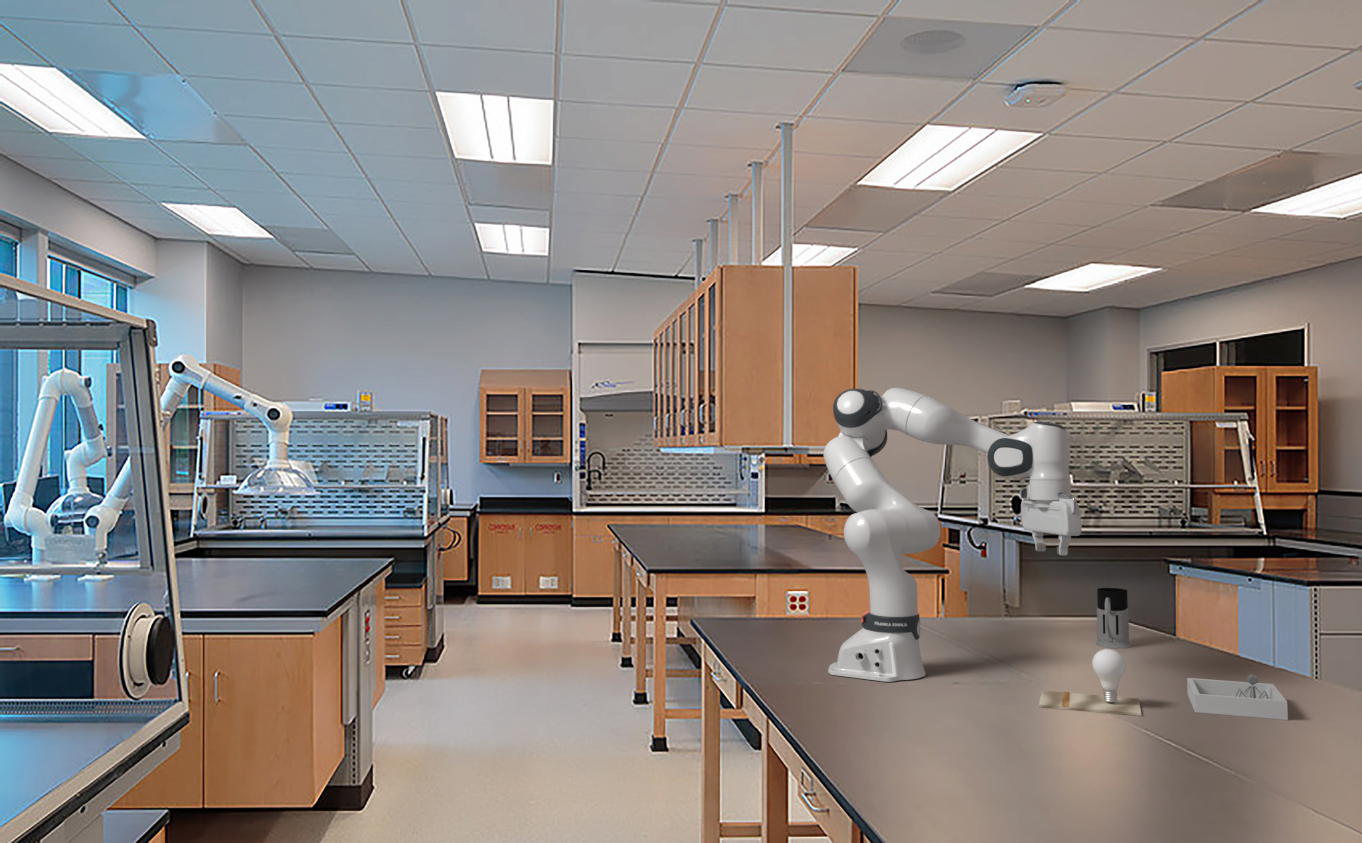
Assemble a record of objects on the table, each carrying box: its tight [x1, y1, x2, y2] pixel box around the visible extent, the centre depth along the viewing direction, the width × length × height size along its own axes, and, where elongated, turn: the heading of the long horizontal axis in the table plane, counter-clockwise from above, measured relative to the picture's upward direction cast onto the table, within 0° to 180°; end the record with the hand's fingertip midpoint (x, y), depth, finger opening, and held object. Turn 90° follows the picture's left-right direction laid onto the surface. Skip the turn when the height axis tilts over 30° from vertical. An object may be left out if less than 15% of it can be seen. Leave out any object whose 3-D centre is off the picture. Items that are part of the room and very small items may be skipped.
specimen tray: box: [1186, 677, 1289, 721], centre depth 201 cm, size 16×16×4 cm
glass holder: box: [1095, 587, 1132, 650], centre depth 264 cm, size 9×14×15 cm, turn 148°
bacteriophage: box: [1236, 673, 1269, 699], centre depth 202 cm, size 7×8×7 cm
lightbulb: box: [1091, 648, 1127, 703], centre depth 203 cm, size 6×6×11 cm
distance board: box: [1038, 690, 1142, 717], centre depth 204 cm, size 19×13×1 cm
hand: (1051, 553), depth 225 cm, fingers open, 8 cm apart
